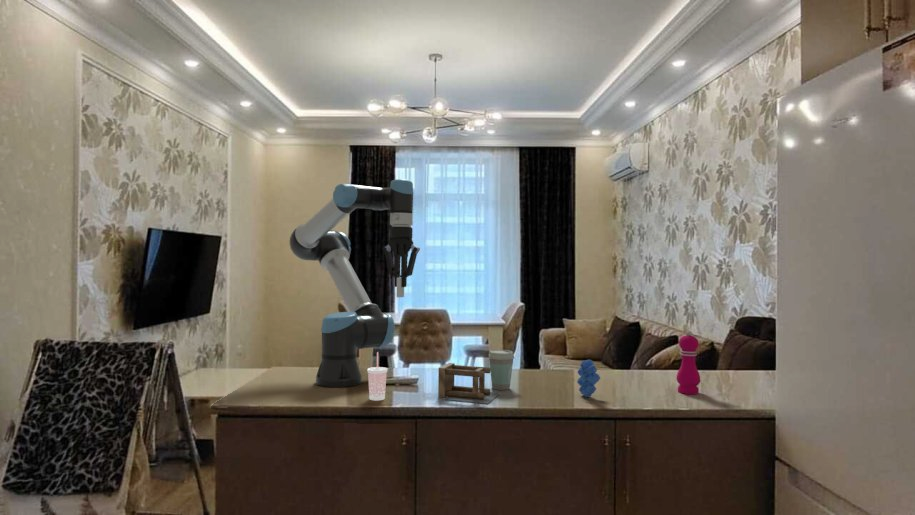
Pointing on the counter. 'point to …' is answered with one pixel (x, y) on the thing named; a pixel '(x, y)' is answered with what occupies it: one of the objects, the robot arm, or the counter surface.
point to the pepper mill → (688, 365)
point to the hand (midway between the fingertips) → (400, 296)
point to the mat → (486, 399)
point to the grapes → (587, 378)
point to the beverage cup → (377, 382)
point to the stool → (449, 389)
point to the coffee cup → (501, 368)
